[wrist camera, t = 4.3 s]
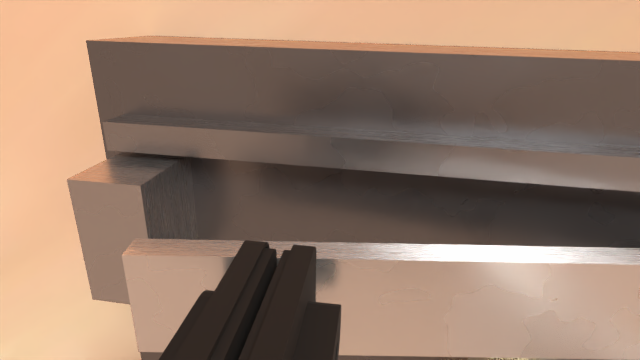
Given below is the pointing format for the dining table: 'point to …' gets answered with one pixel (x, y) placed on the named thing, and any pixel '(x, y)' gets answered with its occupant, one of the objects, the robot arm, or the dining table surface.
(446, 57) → the heatsink block
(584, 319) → the steel strap
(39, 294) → the dining table surface
